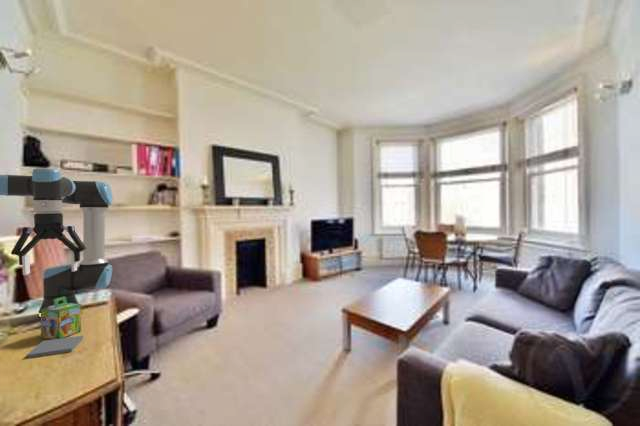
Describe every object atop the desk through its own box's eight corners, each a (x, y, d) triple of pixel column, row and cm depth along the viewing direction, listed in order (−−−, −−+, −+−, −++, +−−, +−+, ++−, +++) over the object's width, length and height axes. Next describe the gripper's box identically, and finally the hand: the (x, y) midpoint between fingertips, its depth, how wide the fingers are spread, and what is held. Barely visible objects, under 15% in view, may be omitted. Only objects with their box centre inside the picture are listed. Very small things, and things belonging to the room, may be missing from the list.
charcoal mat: (42, 344, 111) (42, 340, 111) (82, 338, 116) (82, 335, 116) (26, 358, 100) (26, 354, 100) (71, 351, 105) (71, 348, 105)
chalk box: (58, 340, 114) (58, 301, 114) (39, 338, 116) (39, 300, 116) (82, 331, 123) (82, 295, 123) (64, 329, 125) (64, 294, 125)
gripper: (-6, 213, 97) (-3, 278, 98) (87, 212, 106) (89, 271, 107) (9, 213, 104) (11, 273, 105) (94, 211, 113) (96, 267, 114)
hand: (51, 272), depth 106 cm, fingers open, 13 cm apart
